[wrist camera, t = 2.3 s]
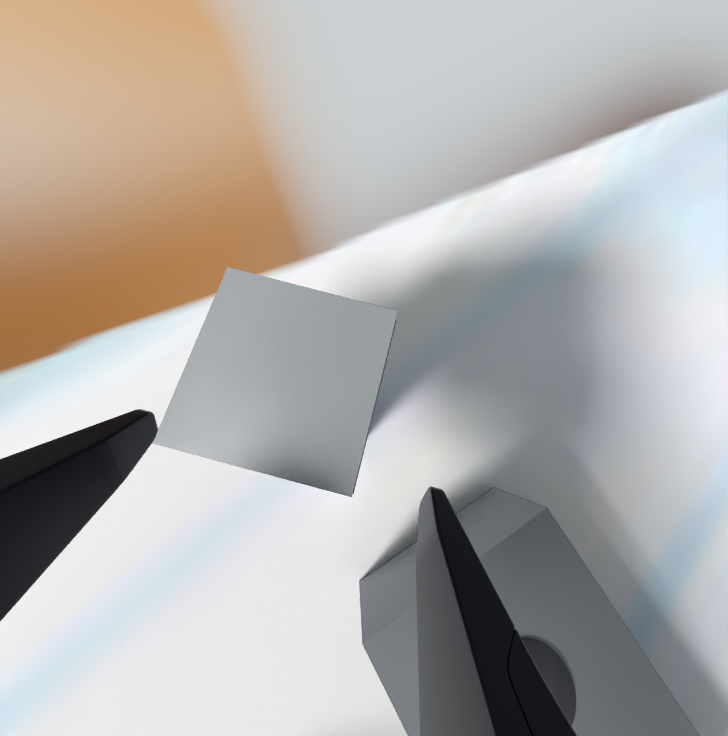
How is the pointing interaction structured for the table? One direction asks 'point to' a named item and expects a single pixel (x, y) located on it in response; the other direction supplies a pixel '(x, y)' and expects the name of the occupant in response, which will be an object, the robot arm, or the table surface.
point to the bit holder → (529, 625)
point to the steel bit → (282, 382)
